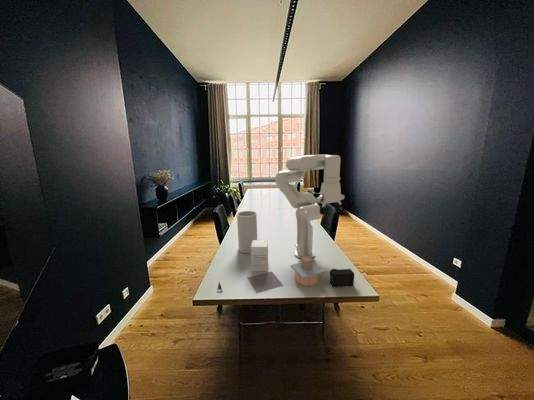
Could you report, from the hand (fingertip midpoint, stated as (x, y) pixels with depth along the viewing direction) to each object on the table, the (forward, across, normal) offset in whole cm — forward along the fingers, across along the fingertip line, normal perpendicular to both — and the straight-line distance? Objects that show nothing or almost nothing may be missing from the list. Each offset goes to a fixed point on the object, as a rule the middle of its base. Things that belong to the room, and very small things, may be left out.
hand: (329, 213), depth 114 cm
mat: (+32, +36, -3) cm, 48 cm away
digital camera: (+33, +2, +13) cm, 35 cm away
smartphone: (+33, +54, -11) cm, 64 cm away
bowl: (+32, +16, +4) cm, 36 cm away
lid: (+26, +16, +4) cm, 31 cm away
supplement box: (+33, +33, -17) cm, 49 cm away
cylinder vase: (+32, +32, -42) cm, 62 cm away
